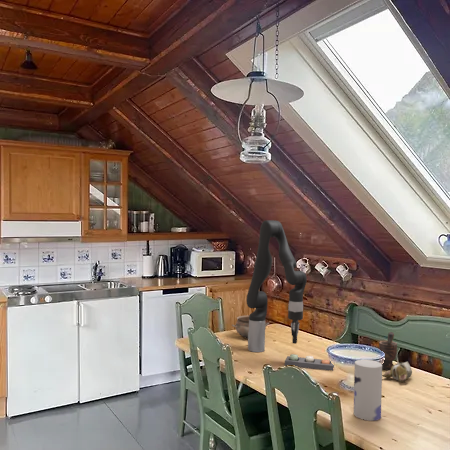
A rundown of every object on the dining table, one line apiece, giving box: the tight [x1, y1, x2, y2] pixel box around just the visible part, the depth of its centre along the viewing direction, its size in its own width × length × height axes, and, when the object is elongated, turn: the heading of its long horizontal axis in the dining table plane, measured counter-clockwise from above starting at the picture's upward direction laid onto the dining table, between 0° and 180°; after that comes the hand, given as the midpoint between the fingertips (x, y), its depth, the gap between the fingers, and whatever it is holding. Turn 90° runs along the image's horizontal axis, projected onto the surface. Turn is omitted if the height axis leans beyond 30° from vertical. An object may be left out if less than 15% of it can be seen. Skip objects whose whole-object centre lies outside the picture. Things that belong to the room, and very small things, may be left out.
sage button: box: [289, 353, 299, 361], centre depth 243 cm, size 4×4×3 cm
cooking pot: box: [231, 315, 270, 340], centre depth 296 cm, size 25×19×12 cm
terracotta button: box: [321, 359, 330, 364], centre depth 238 cm, size 4×4×3 cm
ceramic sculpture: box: [382, 361, 413, 383], centre depth 222 cm, size 11×9×15 cm
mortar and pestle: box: [378, 331, 398, 371], centre depth 237 cm, size 12×9×20 cm
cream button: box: [305, 355, 315, 363], centre depth 241 cm, size 4×4×3 cm
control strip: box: [284, 355, 335, 372], centre depth 241 cm, size 24×9×2 cm, turn 74°
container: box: [353, 359, 383, 422], centre depth 179 cm, size 10×10×20 cm
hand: (294, 343), depth 243 cm, fingers closed
